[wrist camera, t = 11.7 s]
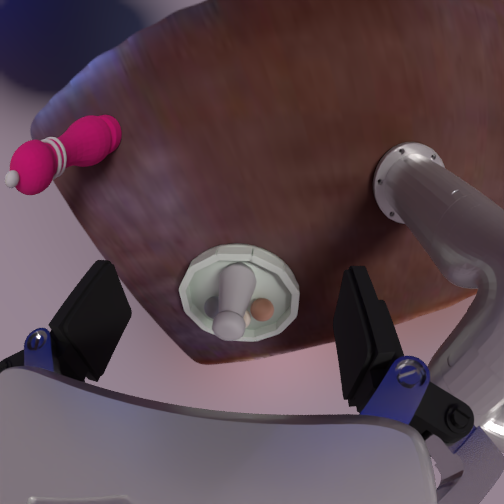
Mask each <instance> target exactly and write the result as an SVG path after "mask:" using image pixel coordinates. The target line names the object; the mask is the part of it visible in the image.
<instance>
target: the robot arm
mask: <svg viewBox="0 0 504 504" xmlns="http://www.w3.org/2000/svg"><path fill="white" fill-rule="evenodd" d="M400 149H401V151H400V152H399V150H400ZM379 179H380V181H378V180H379ZM373 192H374V197H375V200H376V202H377V204H378V206H379V208H380V209H381V210H382V212H383V213H384V214H385V215H386V216H387V217H388V218H389V219H391V220H393V221H395V222H398V223H402V224H406V225H407V227H408V228H409V229H410V230H411V232H412V233H413V234H414V236H415V237H416V238H417V240H418V241H419V242H420V244H421V245H422V246H423V248H424V249H425V251H426V252H427V253H428V255H429V256H430V258H431V259H432V260H433V262H434V263H435V265H436V266H437V267H438V269H439V270H440V272H441V273H442V274H443V276H444V277H445V278H446V279H447V280H448V281H450V282H451V283H453V284H455V285H457V286H460V287H464V288H478V292H477V294H476V297H475V299H474V300H473V302H472V303H471V305H470V306H469V308H468V310H467V312H466V314H465V315H464V317H463V318H462V319H461V321H460V322H459V323H458V325H457V326H456V328H455V329H454V330H453V331H452V333H451V334H450V335H449V337H448V338H447V339H446V340H445V342H444V343H443V344H442V345H441V346H440V348H439V349H438V350H437V352H436V353H435V354H434V356H433V357H432V359H431V361H430V362H429V364H428V367H427V365H426V364H425V363H424V362H423V361H422V360H420V359H419V358H417V357H414V356H404V354H403V351H402V348H401V345H400V342H399V339H398V336H397V333H396V330H395V327H394V324H393V322H392V319H391V316H390V313H389V311H388V308H387V306H386V303H385V301H383V300H378V298H377V295H376V293H375V290H374V287H373V285H372V282H371V280H370V277H369V275H368V272H367V270H366V267H365V266H350V267H349V270H345V271H344V274H343V279H342V284H341V288H340V293H339V298H338V302H337V306H336V311H335V315H334V319H333V329H334V335H335V342H336V348H337V354H338V361H339V368H340V375H341V383H342V391H343V397H344V400H347V399H348V403H349V407H350V406H356V407H357V412H359V413H360V414H359V415H350V414H348V415H347V414H346V415H344V414H343V415H269V414H249V413H236V412H225V411H215V410H207V409H199V408H192V407H186V406H179V405H174V404H168V403H163V402H158V401H153V400H148V399H143V398H139V397H135V396H130V395H126V394H122V393H119V392H114V391H111V390H107V389H104V388H100V387H97V386H94V385H91V384H88V383H85V380H84V379H85V377H87V378H88V379H89V380H93V381H96V382H98V380H99V378H100V376H102V375H103V374H104V371H105V369H106V367H107V365H108V363H109V361H110V359H111V356H112V354H113V352H114V350H115V348H116V346H117V344H118V342H119V340H120V338H121V336H122V333H123V332H124V330H125V328H126V326H127V324H128V322H129V320H130V318H131V314H132V312H131V308H130V306H129V303H128V301H127V298H126V296H125V293H124V291H123V288H122V285H121V283H120V280H119V278H118V275H117V272H116V269H115V267H114V265H113V264H111V262H110V261H108V260H97V261H96V262H95V263H94V264H93V265H92V267H91V268H90V269H89V271H88V272H87V273H86V274H85V276H84V277H83V278H82V279H81V281H80V282H79V283H78V284H77V286H76V287H75V288H74V290H73V291H72V292H71V294H70V295H69V296H68V298H67V299H66V301H65V302H64V303H63V305H62V306H61V308H60V309H59V310H58V312H57V313H56V315H55V316H54V318H53V319H52V320H51V322H50V323H49V326H50V328H51V329H52V330H51V332H49V331H48V330H47V329H46V328H38V329H35V330H34V331H32V332H31V333H30V334H29V335H28V336H27V338H26V340H25V343H24V350H22V351H20V352H18V353H16V354H14V355H12V356H10V357H8V358H6V359H4V360H3V361H1V362H0V504H479V503H480V502H481V501H482V499H483V498H484V497H485V495H486V494H487V493H488V492H489V490H490V489H491V488H492V486H493V485H494V484H495V483H496V481H497V480H498V479H499V477H500V476H501V474H502V472H503V470H504V456H503V454H502V453H504V210H503V209H502V208H501V207H499V206H498V205H497V204H495V203H494V202H493V201H491V200H490V199H489V198H488V197H486V196H485V195H483V194H482V193H481V192H479V191H478V190H476V189H475V188H474V187H472V186H471V185H469V184H468V183H466V182H465V181H464V180H462V179H461V178H459V177H458V176H456V175H455V174H453V173H451V172H450V171H448V170H447V169H445V167H444V164H443V162H442V160H441V158H440V157H439V156H438V154H437V153H436V152H435V151H434V150H433V149H431V148H429V147H428V146H426V145H423V144H421V143H417V142H405V143H402V144H399V145H397V146H395V147H393V148H391V149H390V150H389V151H388V152H387V153H386V154H385V155H384V156H383V157H382V158H381V160H380V162H379V163H378V165H377V168H376V170H375V173H374V179H373ZM501 452H502V453H501ZM430 457H432V458H433V459H434V461H435V462H436V464H435V466H436V467H437V468H438V470H439V472H440V474H441V482H440V485H439V487H438V488H437V489H436V484H435V477H434V471H433V466H432V462H431V458H430Z"/></svg>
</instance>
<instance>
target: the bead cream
mask: <svg viewBox="0 0 504 504" xmlns="http://www.w3.org/2000/svg"><path fill="white" fill-rule="evenodd" d="M243 318H244V321H245V323H246V327H248V325H249V324H250V322H251V315H250V313H249V312H248V310H246V312H245V315H244V317H243Z"/></svg>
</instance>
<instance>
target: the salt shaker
mask: <svg viewBox="0 0 504 504" xmlns="http://www.w3.org/2000/svg"><path fill="white" fill-rule="evenodd" d="M256 282H257V281H256V277H255V274H254V272H253V270H252V269H251V267H249V266H248V265H246V264H244V263H243V262H236V263H230V264H229V265H228V266H227V267H225V269H224V270H223V271H222V272H221V274H220V277H219V313H218V314H217V315H216V316H215V317H214V320H213V324H212V330H213V332H214V334H215V335H216V336H217V337H219V338H220V339H222V340H225V341H234V340H237V339H240V338H241V337H242V336H243V335H244V332H245V328H246V323H245V321H244V318H243V317H244V315H245V312H246V310H247V307H248V305H249V302H250V300H251V297H252V295H253V292H254V290H255V287H256Z"/></svg>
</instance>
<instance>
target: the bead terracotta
mask: <svg viewBox="0 0 504 504" xmlns="http://www.w3.org/2000/svg"><path fill="white" fill-rule="evenodd" d="M250 312H251V315H252V317H253V318H254V319H256V320H257V321H267V320H269V319H270V318H271V317H272V315H273V313H274V306H273V304H272V303H271V301H269V300H268V299H266V298H259V299H256V300H255V301H254V302H253V303H252V305H251V308H250Z"/></svg>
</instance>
